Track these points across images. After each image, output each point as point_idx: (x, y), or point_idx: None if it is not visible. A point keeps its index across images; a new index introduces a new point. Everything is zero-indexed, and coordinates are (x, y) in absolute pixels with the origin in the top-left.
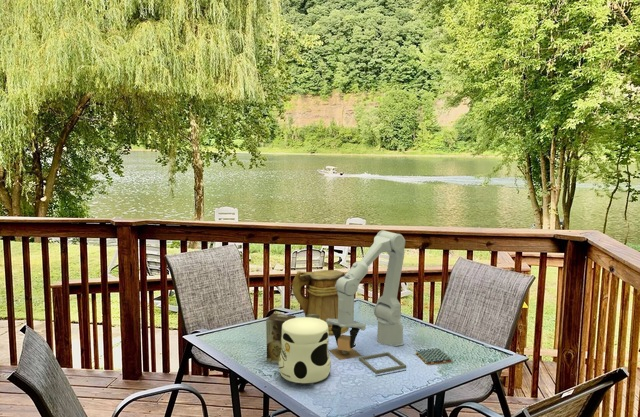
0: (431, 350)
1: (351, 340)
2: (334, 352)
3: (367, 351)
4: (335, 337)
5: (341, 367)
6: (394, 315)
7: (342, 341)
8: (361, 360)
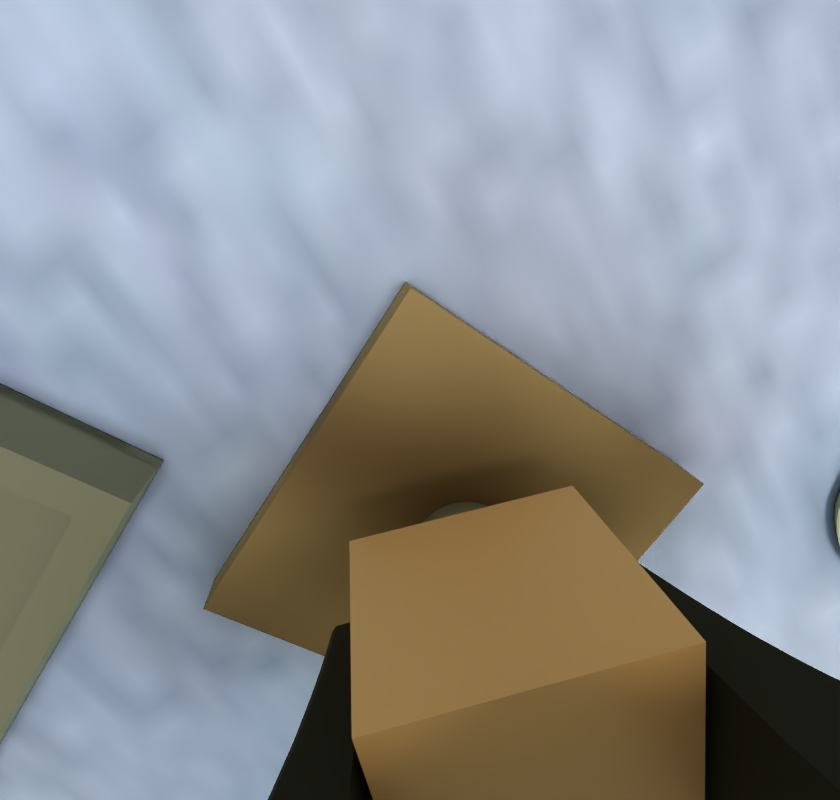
0: None
1: (322, 776)
2: (604, 472)
3: (284, 761)
4: (786, 661)
5: (274, 132)
6: None
7: (541, 634)
8: (44, 451)
